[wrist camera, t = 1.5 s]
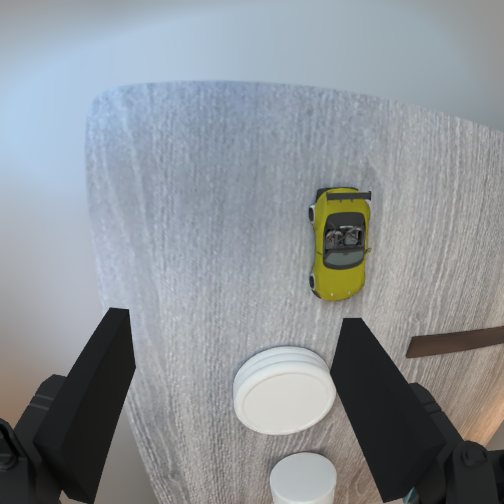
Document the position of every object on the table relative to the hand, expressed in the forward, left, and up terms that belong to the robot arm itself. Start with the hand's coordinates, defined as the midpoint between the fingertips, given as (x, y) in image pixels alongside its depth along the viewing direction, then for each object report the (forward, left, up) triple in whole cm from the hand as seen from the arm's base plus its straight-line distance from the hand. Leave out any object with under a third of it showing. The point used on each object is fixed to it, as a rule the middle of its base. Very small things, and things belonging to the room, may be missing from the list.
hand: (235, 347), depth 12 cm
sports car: (0, +9, -15) cm, 18 cm away
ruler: (+11, +31, -15) cm, 36 cm away
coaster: (+15, +6, -15) cm, 22 cm away
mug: (+33, +11, -15) cm, 38 cm away
